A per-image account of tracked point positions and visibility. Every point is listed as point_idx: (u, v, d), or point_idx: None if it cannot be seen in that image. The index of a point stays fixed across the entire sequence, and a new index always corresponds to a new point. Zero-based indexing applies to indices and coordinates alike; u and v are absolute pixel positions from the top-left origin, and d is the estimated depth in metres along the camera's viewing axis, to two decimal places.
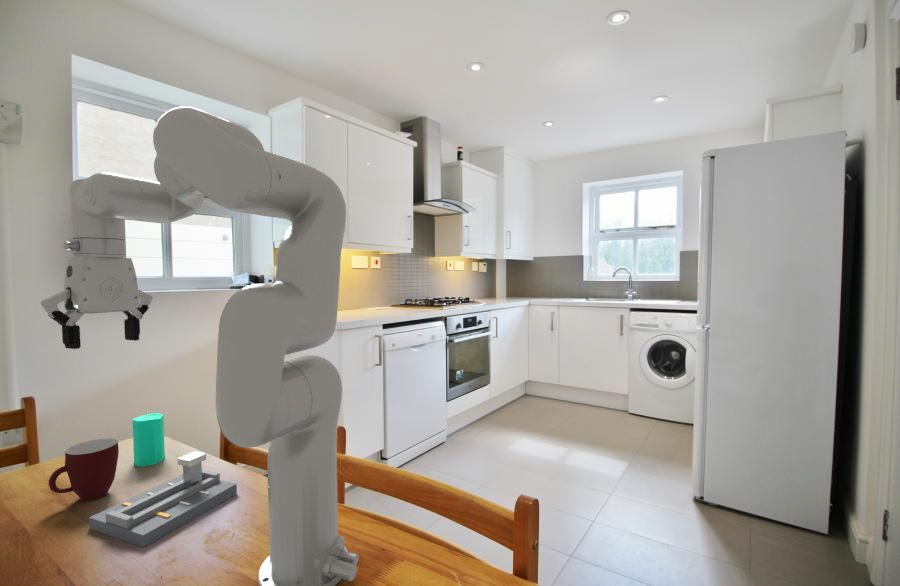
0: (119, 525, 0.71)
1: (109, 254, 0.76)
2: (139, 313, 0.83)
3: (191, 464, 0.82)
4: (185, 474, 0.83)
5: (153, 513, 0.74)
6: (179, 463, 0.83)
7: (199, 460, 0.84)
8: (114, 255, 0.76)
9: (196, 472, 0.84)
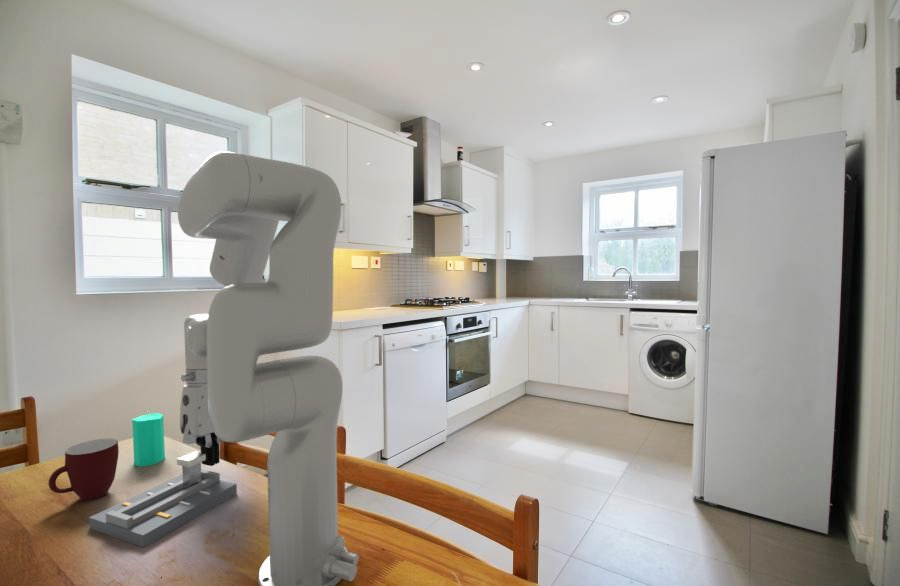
0: (119, 525, 0.71)
1: None
2: None
3: (190, 464, 0.82)
4: (184, 474, 0.83)
5: (153, 513, 0.74)
6: (178, 463, 0.83)
7: (198, 460, 0.83)
8: None
9: (195, 472, 0.84)
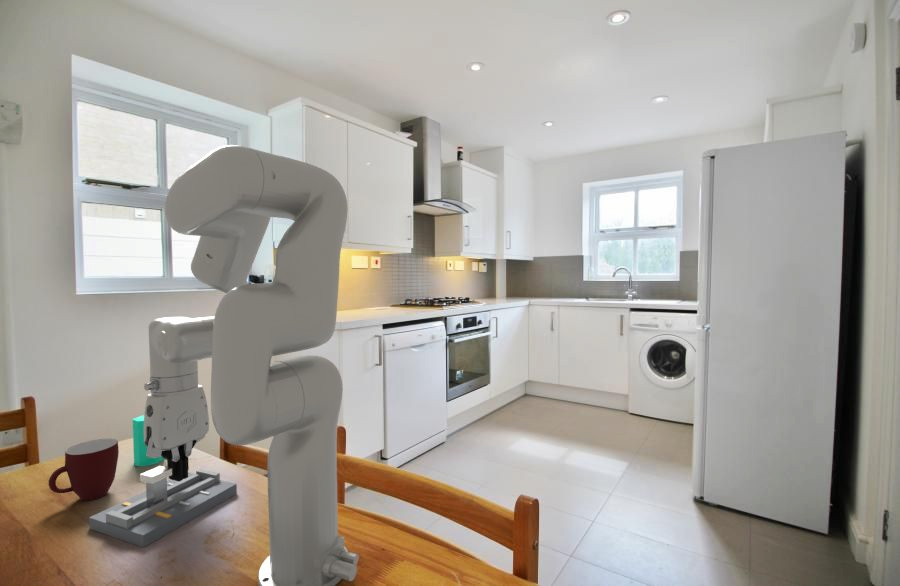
0: (119, 525, 0.71)
1: (185, 390, 0.79)
2: (190, 450, 0.82)
3: (154, 480, 0.76)
4: (148, 491, 0.77)
5: (153, 513, 0.74)
6: (141, 479, 0.76)
7: (164, 476, 0.77)
8: (189, 390, 0.79)
9: (160, 489, 0.77)
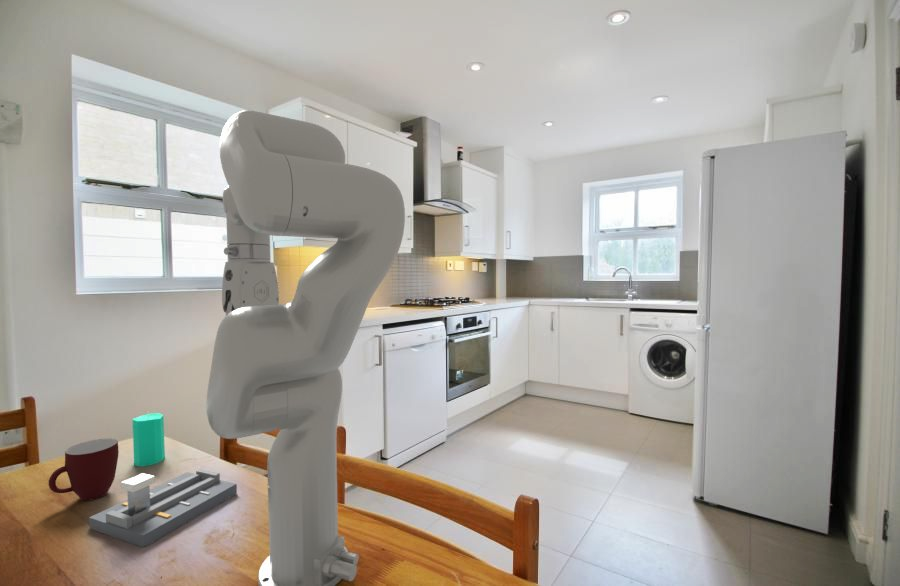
0: (119, 525, 0.71)
1: (261, 259, 0.81)
2: None
3: (136, 489, 0.73)
4: (130, 500, 0.74)
5: (153, 513, 0.74)
6: (123, 487, 0.73)
7: (146, 484, 0.74)
8: (264, 260, 0.82)
9: (143, 497, 0.74)
